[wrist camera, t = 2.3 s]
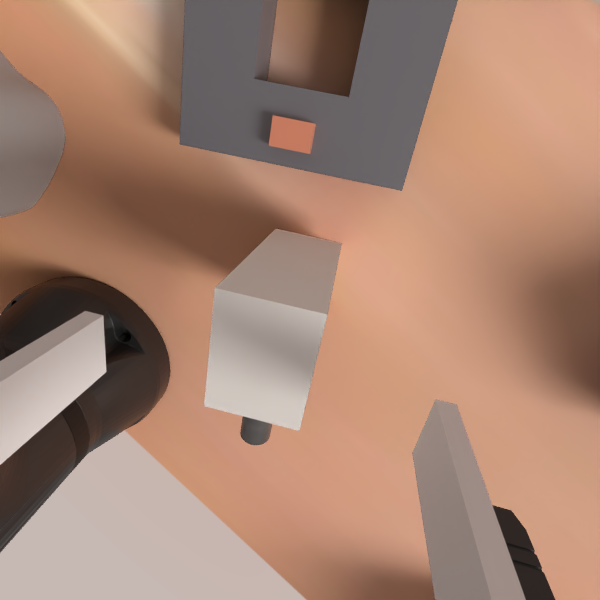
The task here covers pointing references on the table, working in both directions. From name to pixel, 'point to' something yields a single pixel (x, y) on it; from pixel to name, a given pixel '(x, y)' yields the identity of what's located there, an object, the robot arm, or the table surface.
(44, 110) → the lumpy-topped squat cylinder
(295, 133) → the socket
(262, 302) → the plug
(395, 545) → the table surface
